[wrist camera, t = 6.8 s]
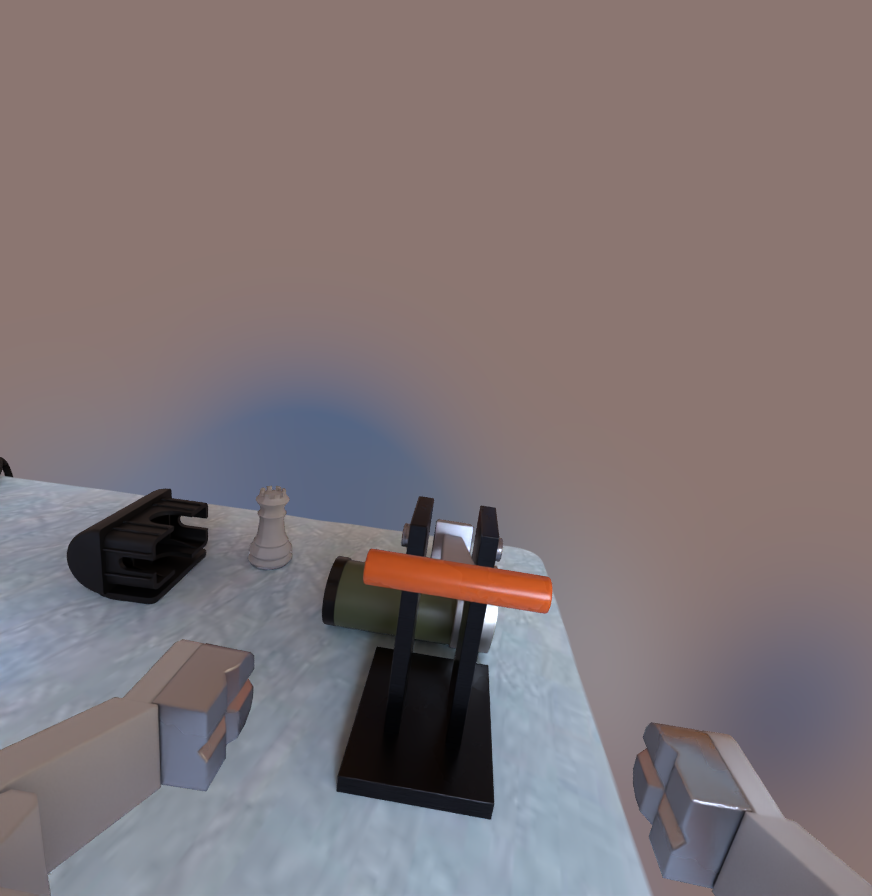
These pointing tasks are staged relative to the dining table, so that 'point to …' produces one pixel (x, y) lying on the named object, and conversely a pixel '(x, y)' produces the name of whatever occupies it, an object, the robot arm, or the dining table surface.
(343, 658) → the dining table surface
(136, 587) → the end cap
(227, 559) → the dining table surface
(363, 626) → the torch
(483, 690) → the black lever stand
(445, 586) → the switch lever
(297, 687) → the dining table surface
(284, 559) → the rook chess piece
